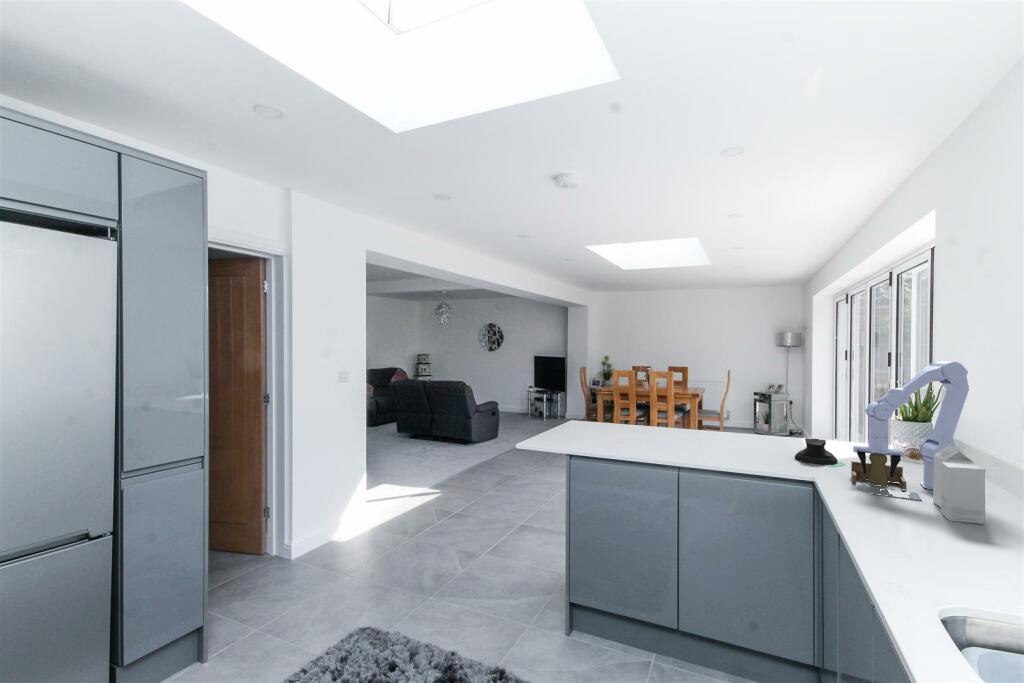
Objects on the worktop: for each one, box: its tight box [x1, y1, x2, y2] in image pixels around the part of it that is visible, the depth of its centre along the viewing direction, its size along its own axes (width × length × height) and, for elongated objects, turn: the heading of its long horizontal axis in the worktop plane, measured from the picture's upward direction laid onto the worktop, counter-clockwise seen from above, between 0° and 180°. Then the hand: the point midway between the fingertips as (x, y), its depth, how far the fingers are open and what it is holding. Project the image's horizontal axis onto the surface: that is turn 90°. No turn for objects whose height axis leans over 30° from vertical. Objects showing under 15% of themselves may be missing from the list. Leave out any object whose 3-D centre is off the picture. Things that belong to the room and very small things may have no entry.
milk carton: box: [932, 443, 975, 508], centre depth 151 cm, size 7×7×19 cm
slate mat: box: [865, 485, 923, 501], centre depth 165 cm, size 14×9×1 cm, turn 58°
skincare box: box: [940, 462, 986, 525], centre depth 141 cm, size 8×7×16 cm
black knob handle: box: [794, 437, 846, 468], centre depth 210 cm, size 20×20×9 cm
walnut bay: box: [850, 461, 907, 490], centre depth 177 cm, size 15×10×6 cm, turn 58°
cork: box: [867, 453, 889, 486], centre depth 176 cm, size 6×6×11 cm
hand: (877, 474), depth 176 cm, fingers open, 7 cm apart
